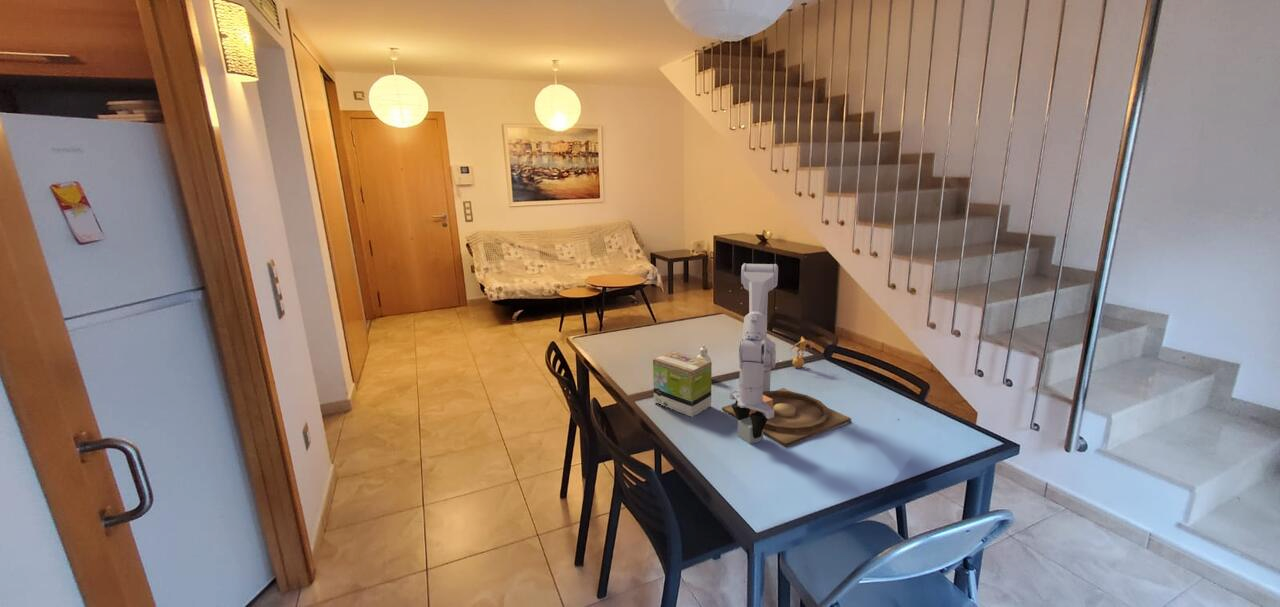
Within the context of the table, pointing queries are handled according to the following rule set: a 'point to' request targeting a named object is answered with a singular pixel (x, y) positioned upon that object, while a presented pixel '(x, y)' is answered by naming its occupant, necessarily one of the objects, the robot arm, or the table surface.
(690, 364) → the tea box
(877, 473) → the table surface
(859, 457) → the table surface
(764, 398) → the orange cube
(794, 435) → the groove tray
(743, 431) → the grey cube
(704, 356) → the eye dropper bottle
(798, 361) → the figurine
